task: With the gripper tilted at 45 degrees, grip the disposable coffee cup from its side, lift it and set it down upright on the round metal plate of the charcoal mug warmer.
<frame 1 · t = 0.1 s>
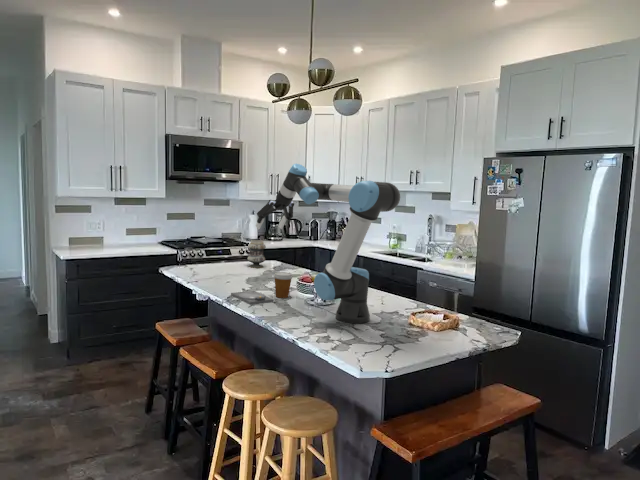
hand: (268, 227, 237), 36 cm above the table, tool tilted 35°, fingers open, 13 cm apart
mug warmer: (251, 298, 240), on the table
disposable coffee cup: (281, 297, 247), on the table
grey stone vase: (255, 267, 327), on the table
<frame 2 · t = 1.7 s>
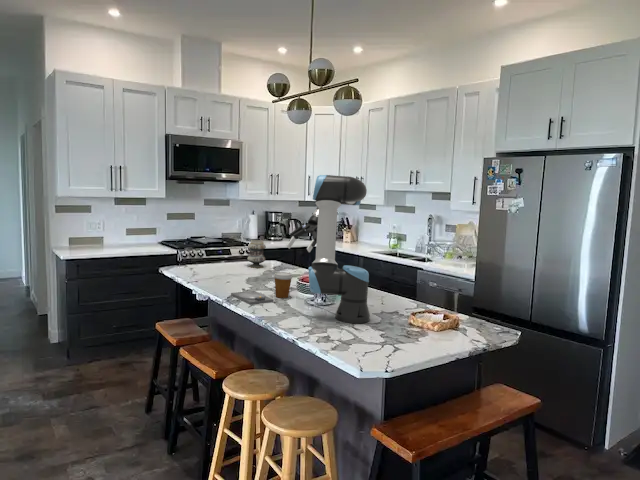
hand: (297, 248, 254), 24 cm above the table, tool tilted 45°, fingers open, 13 cm apart
nothing on the table moved.
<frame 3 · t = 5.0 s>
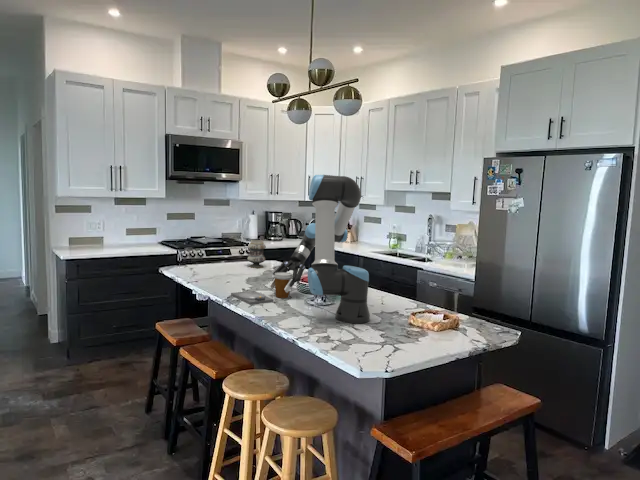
hand: (278, 289, 244), 4 cm above the table, tool tilted 45°, fingers closed on disposable coffee cup, 9 cm apart
disposable coffee cup: (281, 297, 247), on the table, touching gripper
everything else where it was.
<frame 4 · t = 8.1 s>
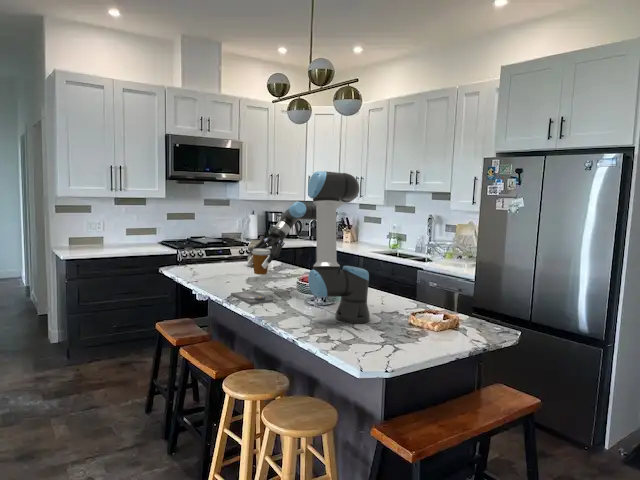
hand: (256, 265, 238), 17 cm above the table, tool tilted 45°, fingers closed on disposable coffee cup, 9 cm apart
disposable coffee cup: (260, 273, 241), point 12 cm above the table, touching gripper
everything else where it was.
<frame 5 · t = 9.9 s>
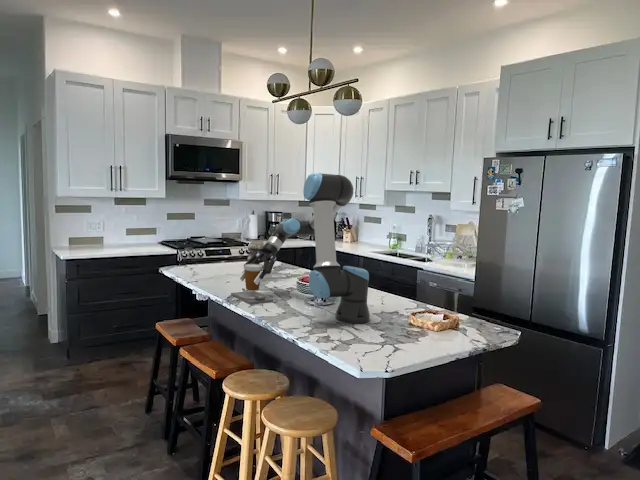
hand: (248, 281, 236), 9 cm above the table, tool tilted 45°, fingers closed on disposable coffee cup, 9 cm apart
disposable coffee cup: (252, 289, 239), point 4 cm above the table, touching gripper
everything else where it was.
when the fingers open (7 cm above the table, at t = 11.1 s): disposable coffee cup drops 1 cm, resting on mug warmer.
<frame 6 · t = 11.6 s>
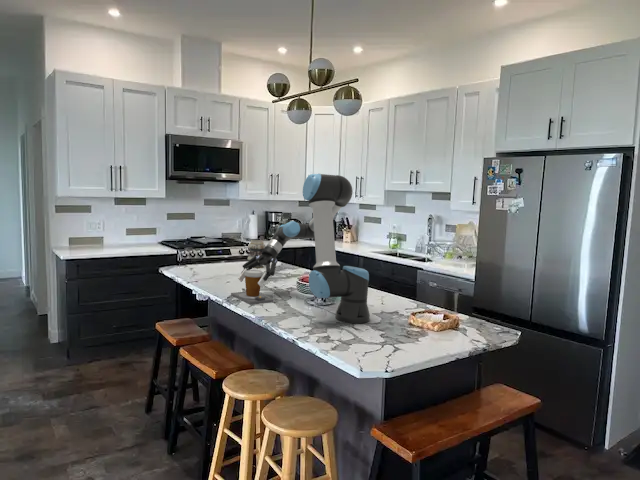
hand: (249, 282, 237), 8 cm above the table, tool tilted 45°, fingers open, 13 cm apart
disposable coffee cup: (252, 295, 240), point 2 cm above the table, touching mug warmer
everything else where it was.
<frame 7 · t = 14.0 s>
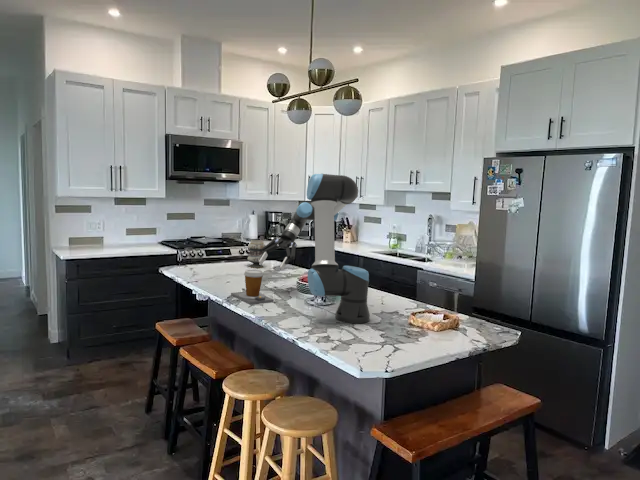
hand: (270, 265, 247), 15 cm above the table, tool tilted 40°, fingers open, 13 cm apart
nothing on the table moved.
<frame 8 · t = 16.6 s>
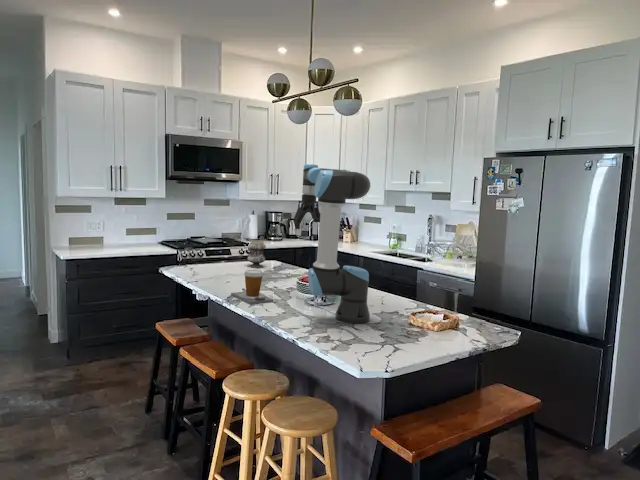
hand: (306, 234, 253), 32 cm above the table, tool pointing down, fingers open, 13 cm apart
nothing on the table moved.
at the end: disposable coffee cup 0.3 cm from the mug warmer (horizontally); disposable coffee cup tilted 0°; disposable coffee cup touching mug warmer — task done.
